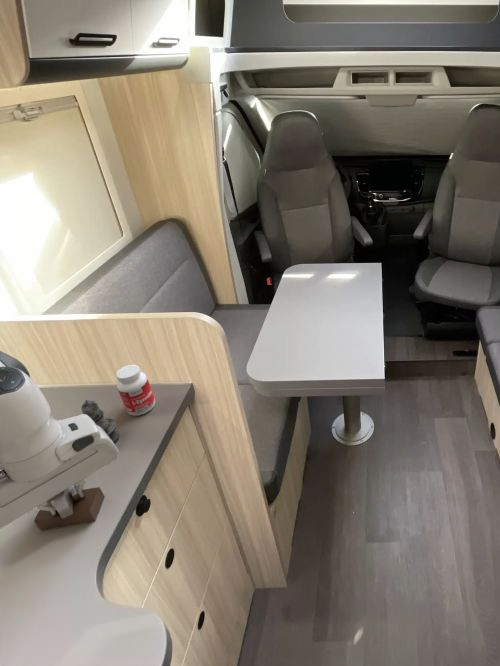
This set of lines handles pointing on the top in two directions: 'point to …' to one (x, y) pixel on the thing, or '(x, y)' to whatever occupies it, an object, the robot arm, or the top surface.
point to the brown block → (82, 511)
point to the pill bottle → (135, 390)
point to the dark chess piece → (100, 419)
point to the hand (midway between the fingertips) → (68, 503)
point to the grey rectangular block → (64, 503)
